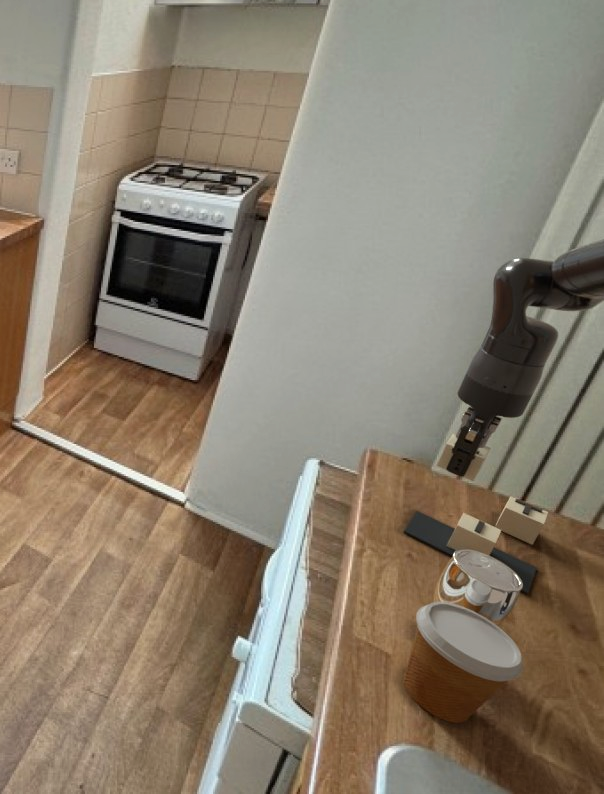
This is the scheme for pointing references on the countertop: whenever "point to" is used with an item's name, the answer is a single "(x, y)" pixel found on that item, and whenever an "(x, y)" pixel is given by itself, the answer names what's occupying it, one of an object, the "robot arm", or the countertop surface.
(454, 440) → the tile
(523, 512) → the tile
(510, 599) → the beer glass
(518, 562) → the word mat
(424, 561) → the countertop surface
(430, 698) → the disposable coffee cup
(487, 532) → the tile
